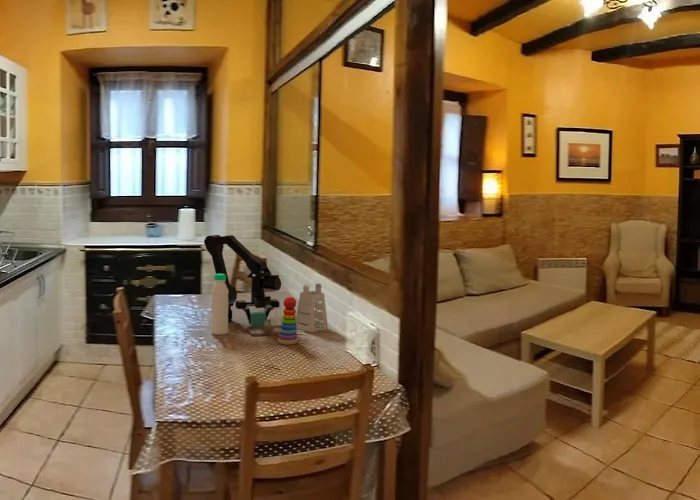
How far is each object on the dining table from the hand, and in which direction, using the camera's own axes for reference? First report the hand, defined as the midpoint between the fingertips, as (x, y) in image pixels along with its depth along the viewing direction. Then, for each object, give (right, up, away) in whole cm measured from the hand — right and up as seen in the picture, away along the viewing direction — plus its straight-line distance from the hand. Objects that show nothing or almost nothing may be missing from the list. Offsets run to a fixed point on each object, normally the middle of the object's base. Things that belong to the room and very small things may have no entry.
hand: (257, 323), depth 276 cm
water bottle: (-14, -3, -15) cm, 21 cm away
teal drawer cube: (0, -1, 0) cm, 1 cm away
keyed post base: (+6, -2, -10) cm, 12 cm away
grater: (+24, -2, -2) cm, 24 cm away
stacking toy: (+16, -5, -27) cm, 32 cm away
